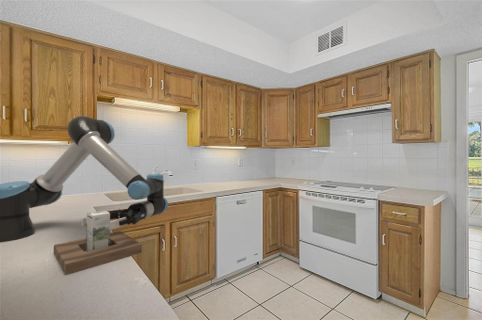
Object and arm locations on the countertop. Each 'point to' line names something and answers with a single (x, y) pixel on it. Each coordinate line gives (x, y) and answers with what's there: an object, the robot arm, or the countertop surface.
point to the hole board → (94, 252)
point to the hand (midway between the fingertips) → (95, 224)
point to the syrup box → (97, 230)
